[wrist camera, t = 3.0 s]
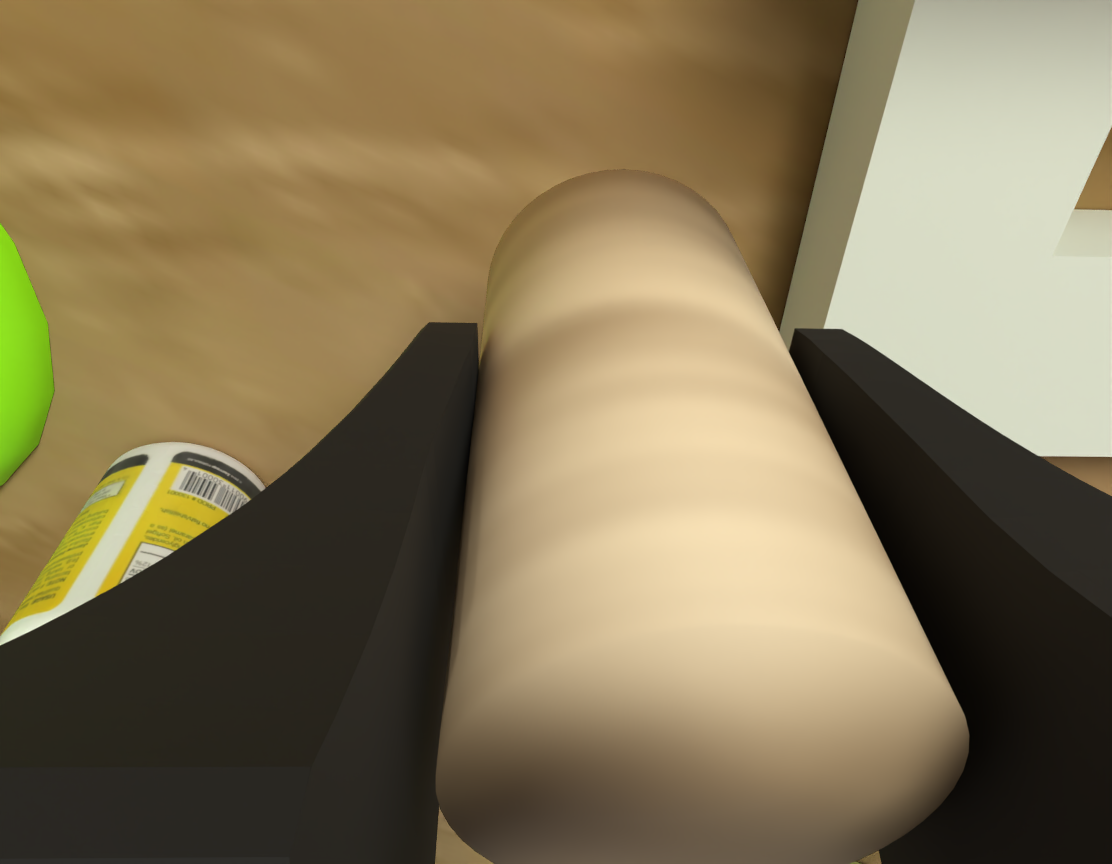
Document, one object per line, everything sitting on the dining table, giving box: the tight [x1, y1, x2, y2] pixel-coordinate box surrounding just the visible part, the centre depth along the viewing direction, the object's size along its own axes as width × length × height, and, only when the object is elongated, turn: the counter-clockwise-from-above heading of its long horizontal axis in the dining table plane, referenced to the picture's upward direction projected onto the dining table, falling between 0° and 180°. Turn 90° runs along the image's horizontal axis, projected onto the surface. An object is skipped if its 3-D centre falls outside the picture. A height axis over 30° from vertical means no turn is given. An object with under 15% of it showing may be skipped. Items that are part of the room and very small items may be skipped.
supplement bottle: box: [0, 442, 265, 645], centre depth 19 cm, size 5×5×8 cm
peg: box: [436, 169, 969, 864], centre depth 9 cm, size 4×4×8 cm
